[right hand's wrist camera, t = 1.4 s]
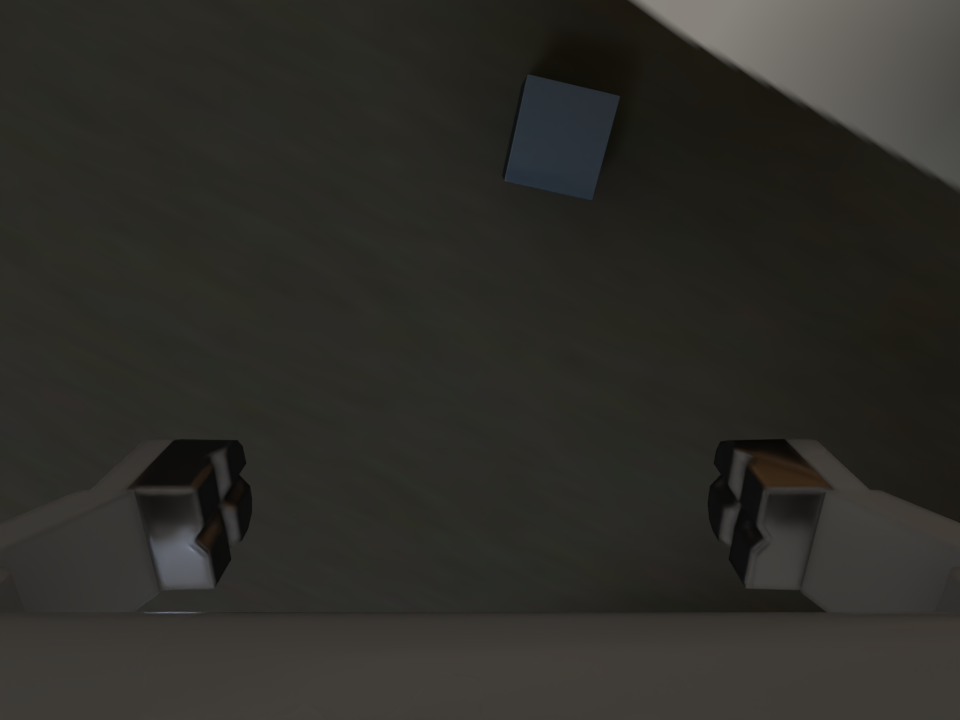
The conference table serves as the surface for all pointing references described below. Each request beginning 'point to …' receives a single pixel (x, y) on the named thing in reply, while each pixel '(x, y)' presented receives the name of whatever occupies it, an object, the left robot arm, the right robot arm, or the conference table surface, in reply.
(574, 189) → the block
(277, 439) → the conference table surface
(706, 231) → the conference table surface
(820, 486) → the right robot arm
